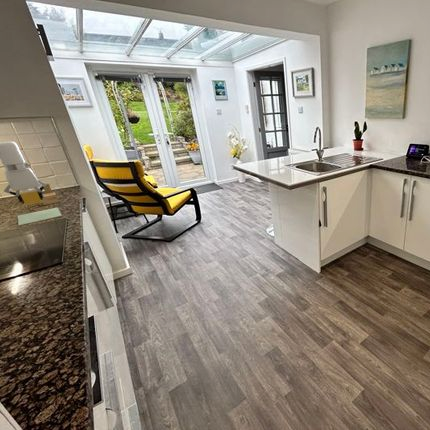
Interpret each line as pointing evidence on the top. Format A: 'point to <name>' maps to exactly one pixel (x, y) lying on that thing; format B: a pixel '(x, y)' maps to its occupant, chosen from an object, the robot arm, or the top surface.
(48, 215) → the mat
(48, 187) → the supplement box
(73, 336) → the top surface
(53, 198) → the base block
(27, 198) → the top cube
